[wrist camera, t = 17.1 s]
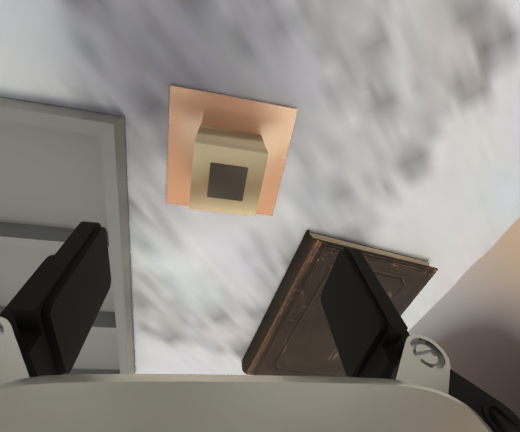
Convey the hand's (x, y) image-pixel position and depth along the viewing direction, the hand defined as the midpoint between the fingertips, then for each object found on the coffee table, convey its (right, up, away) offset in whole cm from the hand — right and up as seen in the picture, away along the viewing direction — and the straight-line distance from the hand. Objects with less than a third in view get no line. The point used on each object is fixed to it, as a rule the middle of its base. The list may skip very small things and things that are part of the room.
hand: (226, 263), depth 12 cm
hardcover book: (+10, -11, +26) cm, 30 cm away
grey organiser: (-21, -4, +18) cm, 28 cm away
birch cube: (-1, +7, +13) cm, 15 cm away
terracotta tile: (-1, +7, +13) cm, 15 cm away
